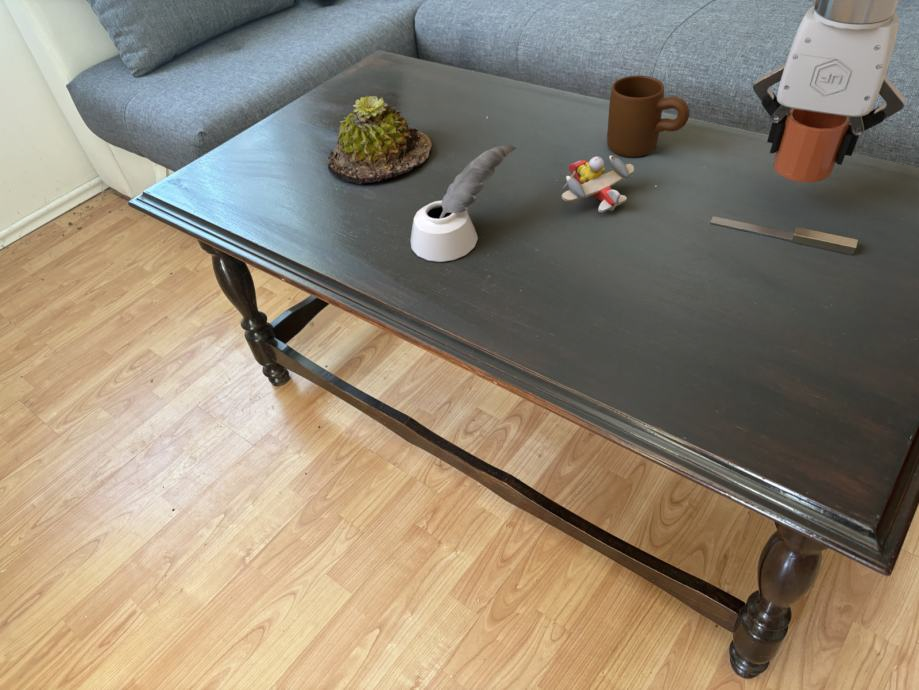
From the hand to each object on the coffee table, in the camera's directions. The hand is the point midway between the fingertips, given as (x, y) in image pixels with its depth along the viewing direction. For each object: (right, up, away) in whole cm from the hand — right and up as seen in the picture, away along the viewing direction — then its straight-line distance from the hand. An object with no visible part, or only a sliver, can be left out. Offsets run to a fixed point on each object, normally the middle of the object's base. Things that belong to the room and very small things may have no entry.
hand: (807, 152), depth 81 cm
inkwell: (-42, -8, +9) cm, 44 cm away
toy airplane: (-24, -4, +11) cm, 26 cm away
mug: (-15, +6, +18) cm, 24 cm away
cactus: (-56, +6, +24) cm, 61 cm away
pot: (0, -1, +2) cm, 2 cm away
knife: (-3, -10, +2) cm, 11 cm away
